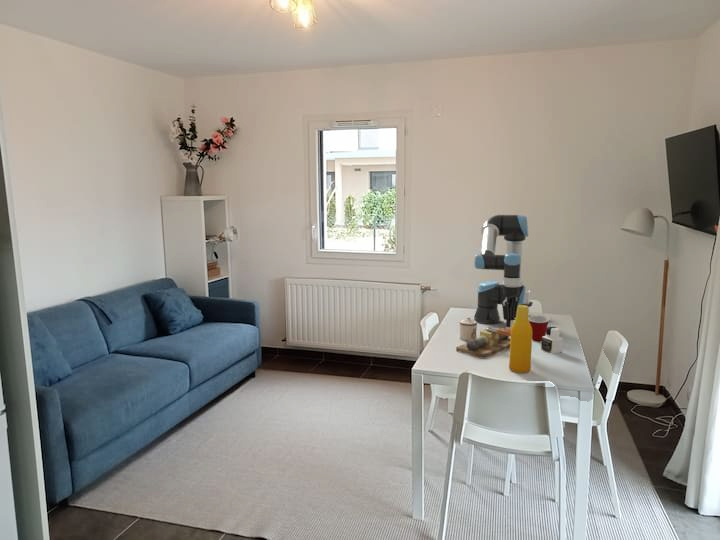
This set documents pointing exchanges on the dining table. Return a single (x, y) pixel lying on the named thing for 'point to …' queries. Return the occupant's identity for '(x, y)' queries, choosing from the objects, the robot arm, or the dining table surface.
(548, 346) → the medicine bottle
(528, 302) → the candle holder
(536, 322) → the plastic cup
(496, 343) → the pipe valve
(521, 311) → the beer bottle
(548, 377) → the dining table surface
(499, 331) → the valve lever
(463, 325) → the teacup with lid
